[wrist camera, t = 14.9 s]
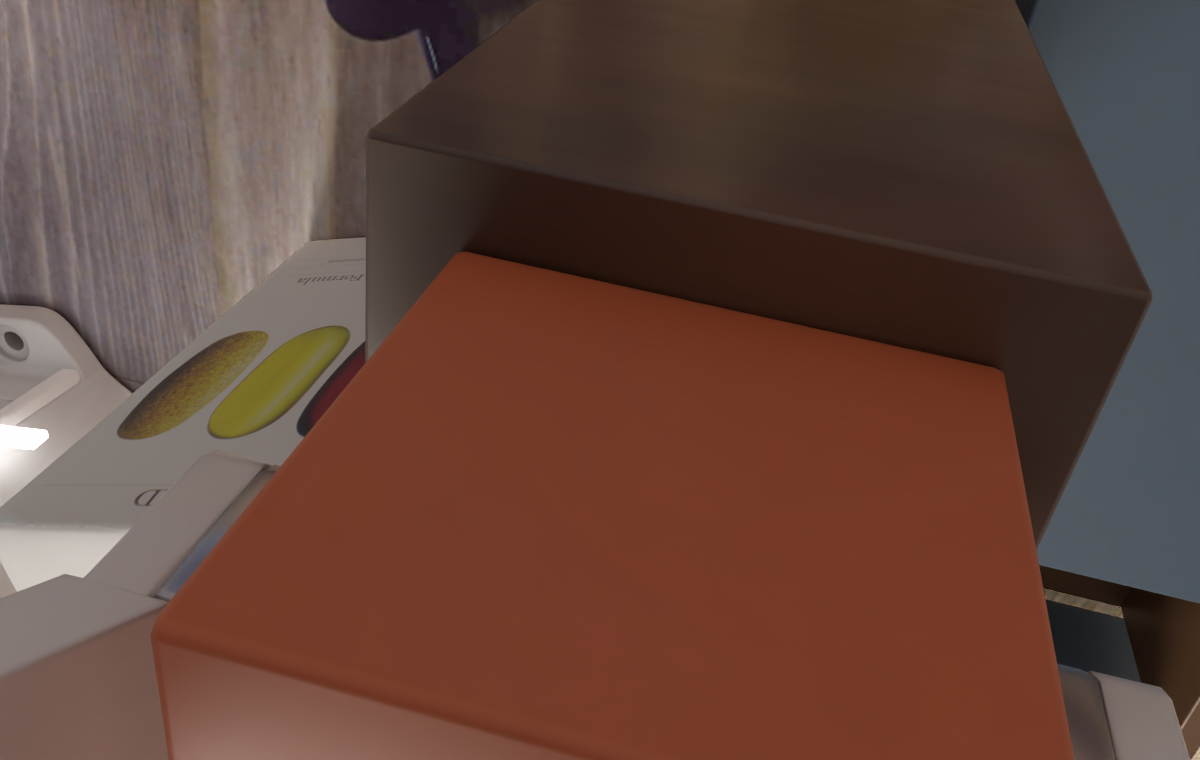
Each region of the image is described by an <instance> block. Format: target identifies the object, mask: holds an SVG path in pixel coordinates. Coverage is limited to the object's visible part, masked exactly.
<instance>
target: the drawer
mask: <svg viewBox="0 0 1200 760" xmlns="http://www.w3.org/2000/svg"><path fill="white" fill-rule="evenodd" d="M1039 567H1040V573H1041V578H1042V584H1043V588H1046V589H1050V590H1054V591H1059V592H1063V593H1067V594H1071V595H1075V596H1079V597H1083V598H1087V599H1091V600H1095V601H1100V602H1104V603H1108V604H1112V605H1116V606H1120V607H1121V609H1122V613H1123V617H1124V619H1123V618H1119V617H1115V616H1111V615H1107V614H1103V613H1099V612H1095V611H1090V610H1086V609H1082V608H1078V607H1074V606H1070V605H1066V604H1062V603H1058V602H1054V601H1050V600H1046V599H1045V600H1046V606H1047V611H1048V616H1049V622H1050V627H1051V633H1052V638H1053V644H1054V649H1055V655H1056V660H1057V664H1061V665H1065V666H1069V667H1073V668H1077V669H1081V670H1083V671H1085V672H1088V671H1094V672H1098V673H1102V674H1107V675H1111V676H1115V677H1119V678H1124V679H1128V680H1132V681H1136V682H1141V683H1145V684H1149V685H1153V686H1158V687H1161V688H1162V689H1163V690H1164V691H1165V692H1166V693H1167V695H1168V696H1169V697H1170V698H1171V699H1172V702H1173V705H1174V708H1175V712H1176V715H1177V718H1178V721H1179V725H1180V728H1181V731H1182V735H1183V738H1184V741H1185V744H1186V748H1187V751H1188V754H1189V757H1190V760H1191V759H1192V757H1193V756H1194V754H1195V753H1196V751H1197V750H1198V748H1199V747H1200V603H1196V602H1191V601H1187V600H1183V599H1179V598H1175V597H1171V596H1167V595H1162V594H1158V593H1154V592H1150V591H1146V590H1142V589H1138V588H1133V587H1129V586H1125V585H1121V584H1117V583H1113V582H1109V581H1104V580H1100V579H1096V578H1092V577H1088V576H1084V575H1080V574H1075V573H1071V572H1067V571H1063V570H1059V569H1055V568H1051V567H1046V566H1042V565H1039Z"/></svg>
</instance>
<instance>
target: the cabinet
mask: <svg viewBox="0 0 1200 760" xmlns="http://www.w3.org/2000/svg"><path fill="white" fill-rule="evenodd" d="M1015 2H1016V4H1017V6H1018V8H1019V10H1020V12H1021V14H1022V16H1023V19H1024V21H1025V23H1026V25H1027V27H1028V29H1029V31H1030V34H1031V36H1032V38H1033V40H1034V42H1035V44H1036V46H1037V48H1038V51H1039V53H1040V55H1041V57H1042V59H1043V61H1044V63H1045V66H1046V68H1047V70H1048V72H1049V74H1050V76H1051V78H1052V80H1053V83H1054V85H1055V87H1056V89H1057V91H1058V93H1059V95H1060V98H1061V100H1062V102H1063V104H1064V106H1065V108H1066V110H1067V112H1068V115H1069V117H1070V119H1071V121H1072V123H1073V125H1074V127H1075V129H1076V132H1077V134H1078V136H1079V138H1080V140H1081V142H1082V144H1083V147H1084V149H1085V151H1086V153H1087V155H1088V157H1089V159H1090V161H1091V164H1092V166H1093V168H1094V170H1095V172H1096V174H1097V176H1098V179H1099V181H1100V183H1101V185H1102V187H1103V189H1104V191H1105V193H1106V196H1107V198H1108V200H1109V202H1110V204H1111V206H1112V208H1113V211H1114V213H1115V215H1116V217H1117V219H1118V221H1119V223H1120V225H1121V228H1122V230H1123V232H1124V234H1125V236H1126V238H1127V240H1128V243H1129V245H1130V247H1131V249H1132V251H1133V253H1134V255H1135V257H1136V260H1137V262H1138V264H1139V266H1140V268H1141V270H1142V272H1143V275H1144V277H1145V279H1146V281H1147V283H1148V285H1149V287H1150V289H1151V292H1152V294H1153V300H1152V302H1151V305H1150V307H1149V309H1148V311H1147V313H1146V315H1145V317H1144V320H1143V322H1142V324H1141V326H1140V328H1139V330H1138V333H1137V335H1136V337H1135V339H1134V341H1133V343H1132V346H1131V348H1130V350H1129V352H1128V354H1127V356H1126V359H1125V361H1124V363H1123V365H1122V367H1121V369H1120V371H1119V374H1118V376H1117V378H1116V380H1115V382H1114V384H1113V387H1112V389H1111V391H1110V393H1109V395H1108V397H1107V400H1106V402H1105V404H1104V406H1103V408H1102V410H1101V412H1100V415H1099V417H1098V419H1097V421H1096V423H1095V425H1094V428H1093V430H1092V432H1091V434H1090V436H1089V438H1088V441H1087V443H1086V445H1085V447H1084V449H1083V451H1082V454H1081V456H1080V458H1079V460H1078V462H1077V464H1076V466H1075V469H1074V471H1073V473H1072V475H1071V477H1070V479H1069V482H1068V484H1067V486H1066V488H1065V490H1064V492H1063V495H1062V497H1061V499H1060V501H1059V503H1058V505H1057V508H1056V510H1055V512H1054V514H1053V516H1052V518H1051V520H1050V523H1049V525H1048V527H1047V529H1046V531H1045V533H1044V536H1043V538H1042V540H1041V542H1040V544H1039V546H1038V549H1037V556H1038V562H1039V565H1042V566H1046V567H1051V568H1055V569H1059V570H1063V571H1067V572H1071V573H1075V574H1080V575H1084V576H1088V577H1092V578H1096V579H1100V580H1104V581H1109V582H1113V583H1117V584H1121V585H1125V586H1129V587H1133V588H1138V589H1142V590H1146V591H1150V592H1154V593H1158V594H1162V595H1167V596H1171V597H1175V598H1179V599H1183V600H1187V601H1191V602H1196V603H1200V0H1015Z"/></svg>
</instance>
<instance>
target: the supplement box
mask: <svg viewBox="0 0 1200 760" xmlns="http://www.w3.org/2000/svg"><path fill="white" fill-rule="evenodd" d="M365 304H366V237H362V238H346V239H330V240H319V241H309V242H308V243H306V244H305V245H304V246H303V247H302V248H301V249H299V250H298V251H297V252H295V253H294V254H293V255H292V256H291V257H290V258H288V259H287V260H286V261H285V262H284V263H283V264H282V265H281V266H279V267H278V268H277V269H276V270H275V271H274V272H272V273H271V274H270V275H269V276H268V277H267V278H265V279H264V280H263V281H262V282H261V283H260V284H258V285H257V286H256V287H255V288H254V289H253V290H252V291H250V292H249V293H248V294H247V295H246V296H245V297H243V298H242V299H241V300H240V301H239V302H238V303H236V304H235V305H234V306H233V307H232V308H231V309H229V310H228V311H227V312H226V313H225V314H224V315H222V316H221V317H220V318H219V319H218V320H217V321H216V322H214V323H213V324H212V325H211V326H210V327H209V328H207V329H206V330H205V331H204V332H203V333H202V334H200V335H199V336H198V337H197V338H196V339H195V340H194V341H193V342H192V343H190V344H189V345H188V346H187V347H186V348H185V349H184V350H182V351H181V352H180V353H179V354H178V355H176V356H175V357H174V358H173V359H172V360H170V361H169V362H168V363H167V364H166V365H165V366H164V367H162V368H161V369H160V370H159V371H158V372H157V373H156V374H154V375H153V376H152V377H151V378H150V379H149V380H147V381H146V382H145V383H144V384H143V385H142V386H141V387H139V388H138V389H137V390H136V391H135V392H134V393H132V394H131V395H130V396H129V397H128V398H127V399H126V400H124V401H123V402H122V403H121V404H120V405H119V406H117V407H116V408H115V409H114V410H113V411H112V412H110V413H109V414H108V415H107V416H106V417H105V418H104V419H102V420H101V421H100V422H99V423H98V424H97V425H96V426H94V427H93V428H92V429H91V430H90V431H89V432H88V433H87V434H85V435H84V436H83V437H82V438H81V439H79V440H78V441H77V442H76V443H75V444H73V445H72V446H71V447H70V448H69V449H68V450H67V451H65V452H64V453H63V454H62V455H61V456H59V457H58V458H57V459H56V460H55V461H54V462H53V463H52V464H50V465H49V466H48V467H47V468H46V469H45V470H43V471H42V472H41V473H40V474H39V475H37V476H36V477H35V478H34V479H33V480H32V481H30V482H29V483H28V484H27V485H26V486H25V487H24V488H22V489H21V490H20V491H19V492H18V493H16V494H15V495H14V496H13V497H12V498H10V499H9V500H8V501H7V502H6V503H5V504H4V505H3V506H1V507H0V562H1V563H2V565H3V567H4V569H5V571H6V573H7V575H8V576H9V578H10V580H11V582H12V584H13V586H14V587H15V589H16V591H17V592H18V591H21V590H24V589H26V588H29V587H32V586H34V585H37V584H39V583H42V582H45V581H47V580H50V579H52V578H55V577H58V576H60V575H63V574H68V575H72V576H76V577H80V578H84V577H85V576H86V575H87V574H88V573H89V572H90V571H91V570H92V569H93V567H94V566H95V565H96V564H97V563H98V562H99V561H100V560H101V559H102V558H103V557H104V556H105V555H106V554H107V553H108V552H109V551H110V550H111V549H112V548H113V547H114V546H115V544H116V543H117V542H118V541H119V540H120V539H121V538H122V537H123V536H124V535H125V534H126V533H127V532H128V531H129V530H130V529H131V528H132V527H133V526H134V525H135V524H136V523H137V521H138V520H139V519H140V518H141V517H142V516H143V515H144V514H145V513H146V512H147V511H148V510H149V509H150V508H151V507H152V506H153V505H154V504H155V503H156V502H157V501H158V500H159V499H160V497H161V496H162V495H163V494H164V493H165V492H166V491H167V490H168V489H169V488H170V487H171V486H172V485H173V484H174V483H175V482H176V481H177V480H178V479H179V478H180V477H181V476H182V474H183V473H184V472H185V471H186V470H187V469H188V468H189V467H190V466H191V465H192V464H193V463H194V462H195V461H196V460H197V459H198V458H199V457H201V456H202V455H205V454H208V453H210V452H213V451H216V450H220V451H223V452H227V453H230V454H234V455H238V456H241V457H245V458H248V459H252V460H255V461H259V462H262V463H266V464H269V465H272V466H273V465H278V466H281V465H282V464H283V463H284V462H285V460H286V459H287V458H288V457H289V455H290V454H291V453H292V452H293V451H294V449H295V448H296V447H297V446H298V445H299V443H300V442H301V441H302V440H303V438H304V437H305V436H306V435H307V434H308V432H309V431H310V430H311V429H312V428H313V426H314V425H315V424H316V423H317V421H318V420H319V419H320V418H321V417H322V415H323V414H324V413H325V412H326V410H327V409H328V408H329V407H330V406H331V404H332V403H333V402H334V401H335V400H336V398H337V397H338V396H339V395H340V393H341V392H342V391H343V390H344V389H345V387H346V386H347V385H348V384H349V383H350V381H351V380H352V379H353V378H354V376H355V375H356V374H357V373H358V372H359V370H360V369H361V368H362V367H363V366H364V364H365Z"/></svg>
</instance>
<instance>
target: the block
mask: <svg viewBox="0 0 1200 760" xmlns="http://www.w3.org/2000/svg"><path fill="white" fill-rule="evenodd" d="M151 643H152V649H153V656H154V663H155V670H156V676H157V683H158V690H159V696H160V703H161V710H162V716H163V723H164V730H165V736H166V743H167V750H168V757H169V760H1075V759H1074V753H1073V748H1072V742H1071V737H1070V731H1069V726H1068V720H1067V715H1066V709H1065V704H1064V698H1063V693H1062V688H1061V682H1060V677H1059V671H1058V666H1057V660H1056V655H1055V649H1054V644H1053V638H1052V633H1051V627H1050V622H1049V616H1048V611H1047V606H1046V600H1045V595H1044V589H1043V584H1042V578H1041V573H1040V567H1039V562H1038V556H1037V551H1036V545H1035V540H1034V535H1033V529H1032V524H1031V518H1030V513H1029V507H1028V502H1027V496H1026V491H1025V485H1024V480H1023V474H1022V469H1021V463H1020V458H1019V453H1018V447H1017V442H1016V436H1015V431H1014V425H1013V420H1012V414H1011V409H1010V403H1009V398H1008V392H1007V387H1006V381H1005V376H1004V373H1003V372H1002V371H1000V370H998V369H996V368H994V367H990V366H985V365H980V364H976V363H971V362H967V361H962V360H958V359H953V358H949V357H944V356H939V355H935V354H930V353H926V352H921V351H917V350H912V349H908V348H903V347H898V346H894V345H889V344H885V343H880V342H876V341H871V340H867V339H862V338H857V337H853V336H848V335H844V334H839V333H835V332H830V331H826V330H821V329H816V328H812V327H807V326H803V325H798V324H794V323H789V322H785V321H780V320H775V319H771V318H766V317H762V316H757V315H753V314H748V313H744V312H739V311H734V310H730V309H725V308H721V307H716V306H712V305H707V304H703V303H698V302H694V301H689V300H684V299H680V298H675V297H671V296H666V295H662V294H657V293H653V292H648V291H643V290H639V289H634V288H630V287H625V286H621V285H616V284H612V283H607V282H602V281H598V280H593V279H589V278H584V277H580V276H575V275H571V274H566V273H561V272H557V271H552V270H548V269H543V268H539V267H534V266H530V265H525V264H520V263H516V262H511V261H507V260H502V259H498V258H493V257H489V256H484V255H479V254H475V253H470V252H458V253H456V254H455V255H454V256H453V257H452V259H451V260H450V261H449V262H448V263H447V265H446V266H445V267H444V268H443V269H442V271H441V272H440V273H439V274H438V276H437V277H436V278H435V279H434V280H433V282H432V283H431V284H430V285H429V287H428V288H427V289H426V290H425V291H424V293H423V294H422V295H421V296H420V297H419V299H418V300H417V301H416V302H415V304H414V305H413V306H412V307H411V308H410V310H409V311H408V312H407V313H406V314H405V316H404V317H403V318H402V319H401V321H400V322H399V323H398V324H397V325H396V327H395V328H394V329H393V330H392V331H391V333H390V334H389V335H388V336H387V338H386V339H385V340H384V341H383V342H382V344H381V345H380V346H379V347H378V349H377V350H376V351H375V352H374V353H373V355H372V356H371V357H370V358H369V359H368V361H367V362H366V363H365V364H364V366H363V367H362V368H361V369H360V370H359V372H358V373H357V374H356V375H355V376H354V378H353V379H352V380H351V381H350V383H349V384H348V385H347V386H346V387H345V389H344V390H343V391H342V392H341V393H340V395H339V396H338V397H337V398H336V400H335V401H334V402H333V403H332V404H331V406H330V407H329V408H328V409H327V410H326V412H325V413H324V414H323V415H322V417H321V418H320V419H319V420H318V421H317V423H316V424H315V425H314V426H313V428H312V429H311V430H310V431H309V432H308V434H307V435H306V436H305V437H304V438H303V440H302V441H301V442H300V443H299V445H298V446H297V447H296V448H295V449H294V451H293V452H292V453H291V454H290V455H289V457H288V458H287V459H286V460H285V462H284V463H283V464H282V465H281V466H280V468H279V469H278V470H277V471H276V472H275V474H274V475H273V476H272V477H271V479H270V480H269V481H268V482H267V483H266V485H265V486H264V487H263V488H262V490H261V491H260V492H259V493H258V494H257V496H256V497H255V498H254V499H253V500H252V502H251V503H250V504H249V505H248V507H247V508H246V509H245V510H244V511H243V513H242V514H241V515H240V516H239V517H238V519H237V520H236V521H235V522H234V524H233V525H232V526H231V527H230V528H229V530H228V531H227V532H226V533H225V534H224V536H223V537H222V538H221V539H220V541H219V542H218V543H217V544H216V545H215V547H214V548H213V549H212V550H211V551H210V553H209V554H208V555H207V556H206V558H205V559H204V560H203V561H202V562H201V564H200V565H199V566H198V567H197V569H196V570H195V571H194V572H193V573H192V575H191V576H190V577H189V578H188V579H187V581H186V582H185V583H184V584H183V586H182V587H181V588H180V589H179V590H178V592H177V593H176V594H175V595H174V596H173V598H172V599H171V600H170V601H169V603H168V604H167V605H166V606H165V607H164V609H163V610H162V611H161V612H160V613H159V615H158V616H157V618H156V620H155V622H154V624H153V627H152V632H151Z"/></svg>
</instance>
